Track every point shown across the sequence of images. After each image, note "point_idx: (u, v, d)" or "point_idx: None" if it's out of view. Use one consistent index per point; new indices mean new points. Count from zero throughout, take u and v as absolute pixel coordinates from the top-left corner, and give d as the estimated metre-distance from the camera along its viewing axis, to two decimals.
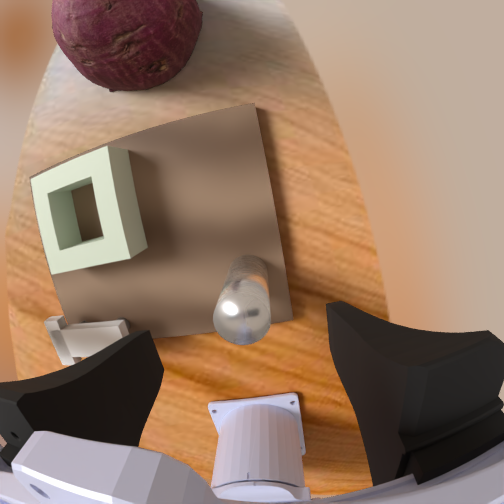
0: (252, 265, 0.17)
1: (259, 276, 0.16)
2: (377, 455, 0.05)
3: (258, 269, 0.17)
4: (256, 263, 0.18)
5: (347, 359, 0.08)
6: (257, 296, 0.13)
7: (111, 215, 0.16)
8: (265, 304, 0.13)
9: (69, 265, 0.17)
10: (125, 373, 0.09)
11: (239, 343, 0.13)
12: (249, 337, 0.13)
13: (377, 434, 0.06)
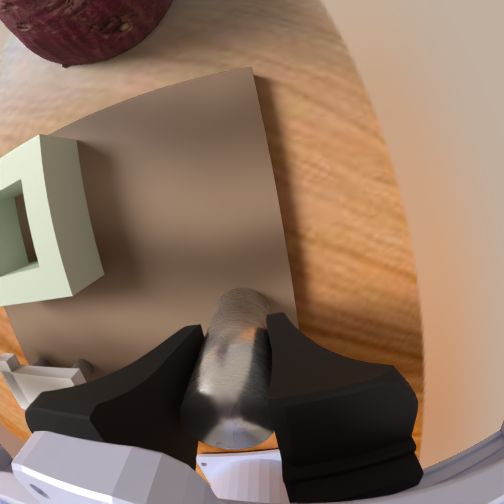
0: (247, 311, 0.11)
1: (258, 334, 0.10)
2: None
3: (256, 318, 0.11)
4: (254, 305, 0.12)
5: None
6: (254, 388, 0.07)
7: (45, 234, 0.10)
8: None
9: (7, 298, 0.11)
10: (184, 371, 0.09)
11: (225, 448, 0.07)
12: (241, 442, 0.07)
13: None
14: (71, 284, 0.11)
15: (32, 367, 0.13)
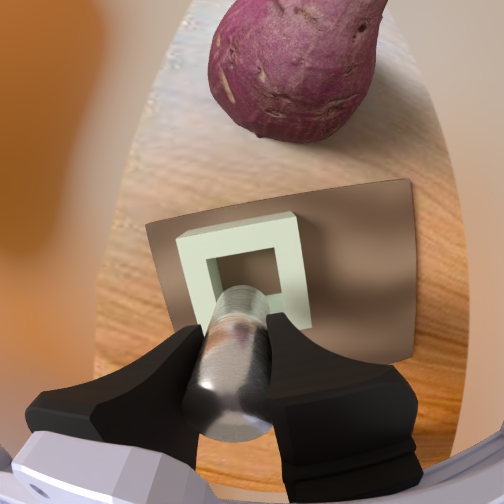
0: (244, 307, 0.11)
1: (254, 328, 0.10)
2: None
3: (253, 312, 0.11)
4: (251, 301, 0.12)
5: None
6: (249, 379, 0.07)
7: (297, 288, 0.17)
8: (265, 391, 0.07)
9: None
10: (184, 371, 0.09)
11: (230, 441, 0.07)
12: (244, 434, 0.07)
13: None
14: (310, 320, 0.18)
15: None
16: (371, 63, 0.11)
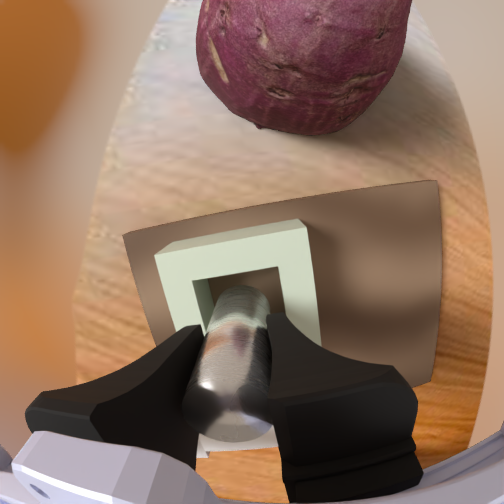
0: (244, 306, 0.11)
1: (254, 328, 0.10)
2: None
3: (253, 312, 0.11)
4: (251, 301, 0.12)
5: None
6: (249, 379, 0.07)
7: (306, 316, 0.14)
8: (265, 391, 0.07)
9: None
10: (184, 371, 0.09)
11: (230, 441, 0.07)
12: (244, 434, 0.07)
13: None
14: None
15: None
16: (404, 32, 0.07)
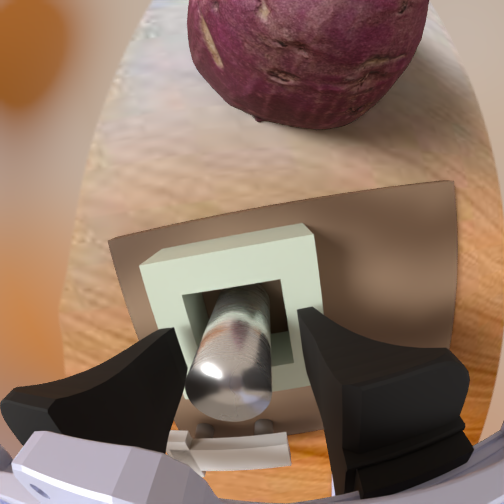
0: (244, 297, 0.12)
1: (254, 315, 0.11)
2: (334, 466, 0.06)
3: (253, 302, 0.12)
4: (251, 292, 0.13)
5: (313, 366, 0.08)
6: (247, 357, 0.08)
7: None
8: (261, 369, 0.08)
9: None
10: (153, 372, 0.09)
11: (229, 420, 0.08)
12: (243, 412, 0.08)
13: (333, 445, 0.06)
14: None
15: (216, 440, 0.15)
16: (426, 11, 0.05)
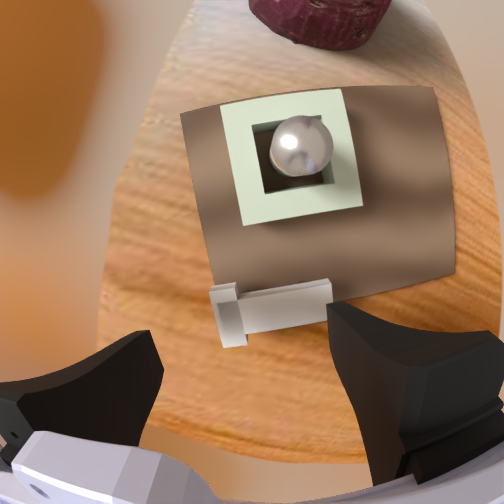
0: None
1: None
2: (377, 455, 0.05)
3: None
4: None
5: (347, 359, 0.08)
6: (315, 120, 0.12)
7: (346, 159, 0.15)
8: (325, 126, 0.11)
9: (278, 213, 0.16)
10: (125, 373, 0.09)
11: (303, 173, 0.12)
12: (313, 164, 0.12)
13: (377, 434, 0.06)
14: None
15: (263, 291, 0.18)
16: None
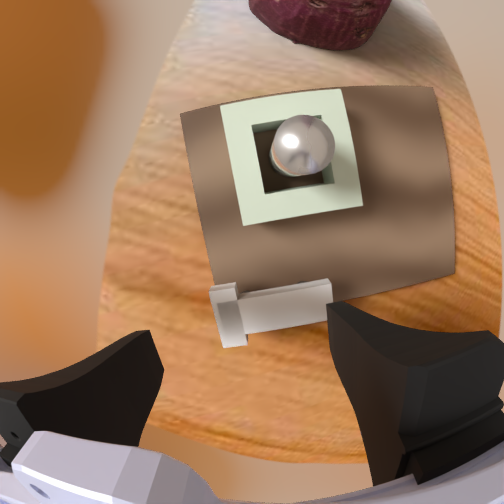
0: None
1: None
2: (377, 455, 0.05)
3: None
4: None
5: (347, 359, 0.08)
6: (317, 119, 0.12)
7: (346, 159, 0.15)
8: (327, 126, 0.11)
9: (278, 213, 0.16)
10: (125, 373, 0.09)
11: (305, 172, 0.12)
12: (315, 164, 0.12)
13: (377, 434, 0.06)
14: None
15: (263, 291, 0.18)
16: None
